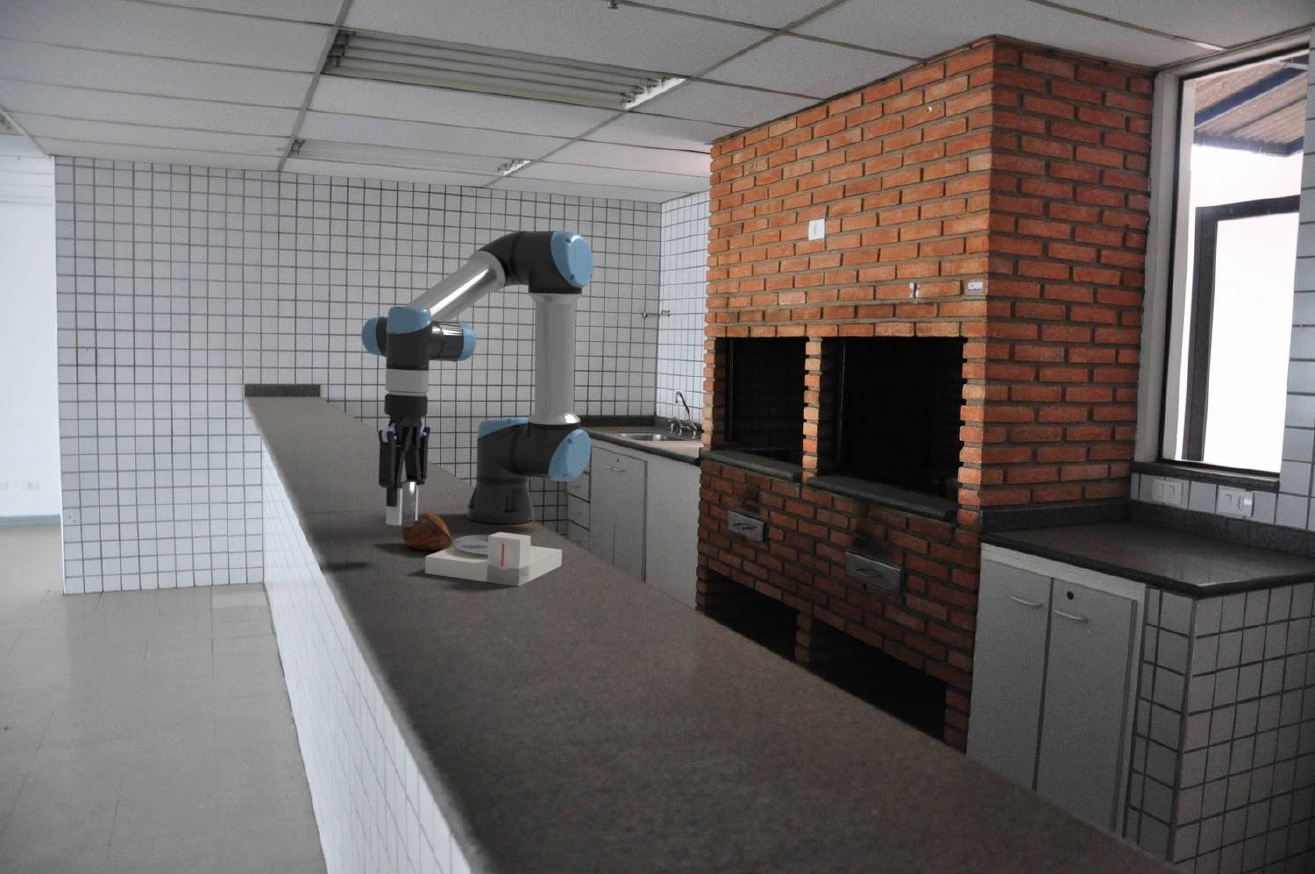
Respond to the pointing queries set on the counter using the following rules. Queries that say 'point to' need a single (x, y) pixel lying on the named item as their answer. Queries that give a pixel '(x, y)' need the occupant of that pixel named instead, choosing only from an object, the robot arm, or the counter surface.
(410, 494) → the metal cylinder
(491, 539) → the scale
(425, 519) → the brown lumpy chunk
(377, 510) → the counter surface
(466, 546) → the pan
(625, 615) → the counter surface
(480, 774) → the counter surface
